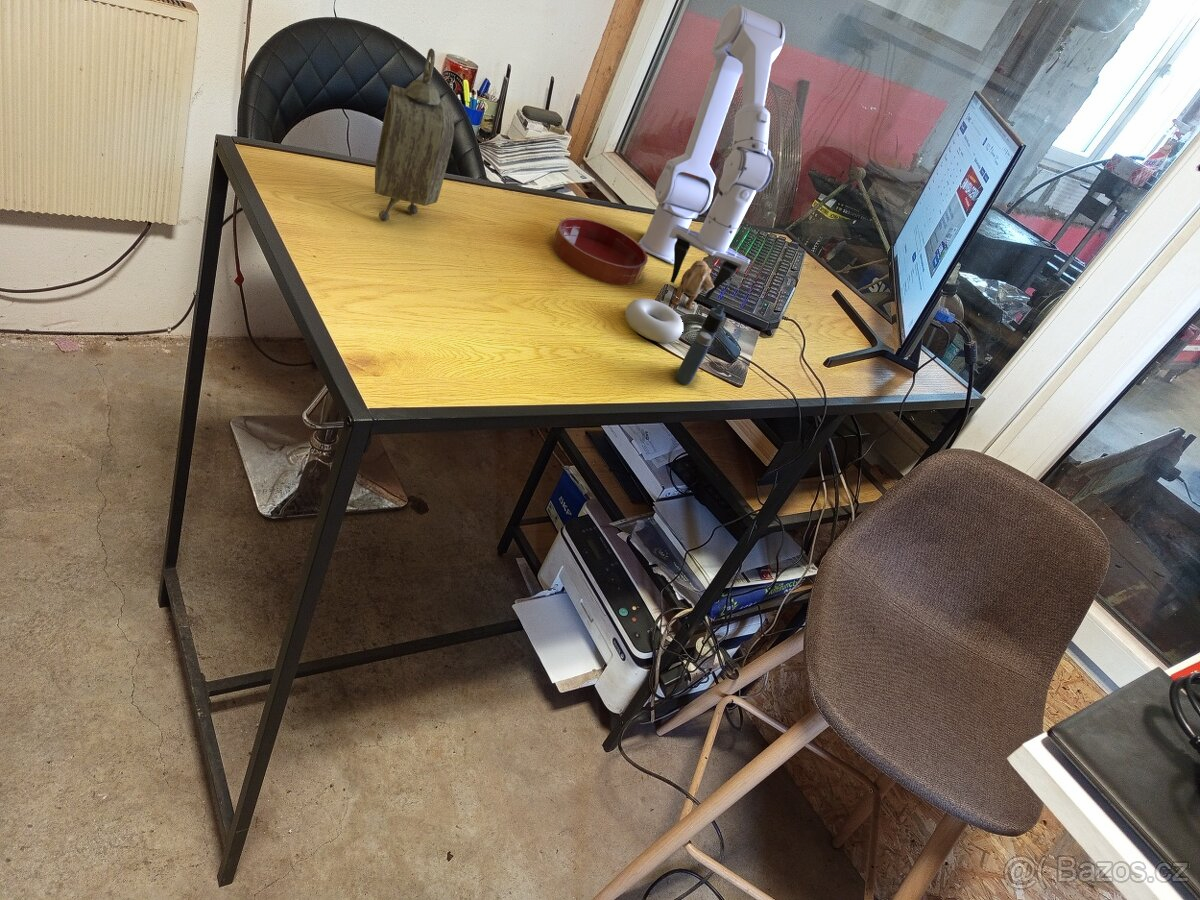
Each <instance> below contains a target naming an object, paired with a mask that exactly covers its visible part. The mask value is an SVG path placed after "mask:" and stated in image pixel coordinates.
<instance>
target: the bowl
mask: <svg viewBox="0 0 1200 900" xmlns="http://www.w3.org/2000/svg"><path fill="white" fill-rule="evenodd" d="M638 243H639V242H637V241H636V240H634V239H633V238H632V237H630V236H629V235H627V234H625V233H624V232H622V231H620V230H619V229H616V228H615V227H613V226H610V225H607V224H605V223H602V222H599V221H596V220H592V219H588V218H583V217H567V218H564V219H562V220H560V221H559V222H558V224H557V227H556V229H555V232H554V235H553V238H552V242H551V247H552V250H553V252H554V254H555V255H556V256H557V257H558V258H559V259H560V260H561V261H562V262H563V263H564V264H566V265H567V266H569V267H570V268H572V269H573V270H574V271H577V272H579V273H580V274H582V275H585V276H586V277H589V278H591V279H594V280H596V281H600V282H602V283H607V284H611V285H617V286H626V285H627V286H628V285H633V284H636V283H637V282H638V281H640V278H641V277H642V275H643V272H644V270H645V268H646V266H647V263H648V261H649V259H648V254H647V252H646V251H644V249H643V248H642V247H641V246H640V245H639V244H638Z"/></svg>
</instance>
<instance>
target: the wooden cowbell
mask: <svg viewBox="0 0 1200 900" xmlns="http://www.w3.org/2000/svg"><path fill="white" fill-rule="evenodd" d="M435 61H436V53H435V50H434V48H429V49H428V51H427V55H426V60H425V66H424V70H423V76H422V79H415V80H413V81H412V82H410V83H409V84H408V85H407V86H406V88H404V87H401V86H398V85H395V84H391V85H390V88H389V93H388V97H387V101H386V107H385V111H384V115H383V121H382V127H381V131H380V137H379V142H378V146H377V147H378V148H377V151H376V152H377V153H376V159H375V166H374V167H375V168H374V191H375V195H381V196H384V197H388V198H390V199H389V202H388V204H387V205H386V207H385V210H384V209H383V210H380V212H378V219H379V220H380V221H382V222H387V221H388V220H389V219H390V211H391V210H392V209H393V206H394V205H395V204H397V203H398V202H399V201H403V202H407V203H410V204H409V205H408V206H407V211H408V213H409V214H410V215H416V214H417V213H418V211H419V209H418V206H417V205H419V206H423V207H425V206H429V205H433V204H435V203H438V201H439V197H440V194H441V191H442V187H443V184H444V179H445V175H446V171H447V168H448V164H449V159H450V156H451V151H452V146H453V142H454V137H455V124H454V123H455V122H454V118H453V114H452V111H451V109H450V108H449V107H448V106H447V105H446V103H444V102H443V101H442V100H441V97H440V93H439V91H438V89H437V88H436V86H435V85H434V84H432V83H431V80H432V78H433V72H434V68H435Z"/></svg>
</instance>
